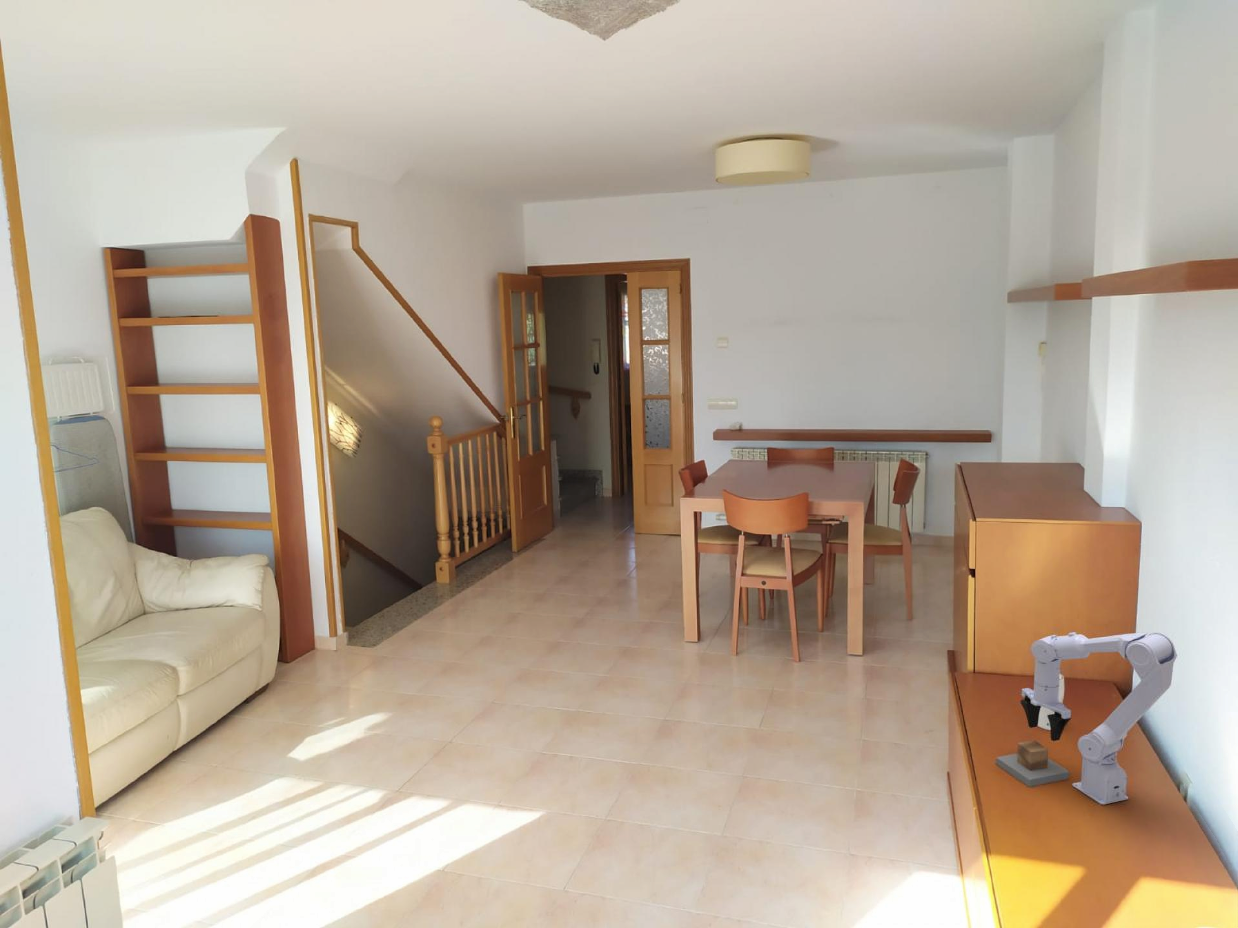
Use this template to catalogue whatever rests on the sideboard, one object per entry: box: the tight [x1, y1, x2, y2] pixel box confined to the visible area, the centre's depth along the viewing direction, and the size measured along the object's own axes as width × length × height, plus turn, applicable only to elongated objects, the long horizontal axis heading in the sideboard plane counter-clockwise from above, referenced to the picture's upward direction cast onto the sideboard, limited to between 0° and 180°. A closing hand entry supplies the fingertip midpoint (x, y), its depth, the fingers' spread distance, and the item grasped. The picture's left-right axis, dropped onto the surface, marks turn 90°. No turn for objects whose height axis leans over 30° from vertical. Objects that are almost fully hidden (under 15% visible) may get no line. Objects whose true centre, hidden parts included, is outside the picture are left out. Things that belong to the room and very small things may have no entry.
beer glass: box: [1037, 673, 1065, 731], centre depth 250 cm, size 7×7×15 cm
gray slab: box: [995, 752, 1070, 788], centre depth 227 cm, size 12×12×2 cm
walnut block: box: [1017, 740, 1049, 771], centre depth 226 cm, size 5×5×5 cm
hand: (1044, 733), depth 227 cm, fingers open, 7 cm apart
